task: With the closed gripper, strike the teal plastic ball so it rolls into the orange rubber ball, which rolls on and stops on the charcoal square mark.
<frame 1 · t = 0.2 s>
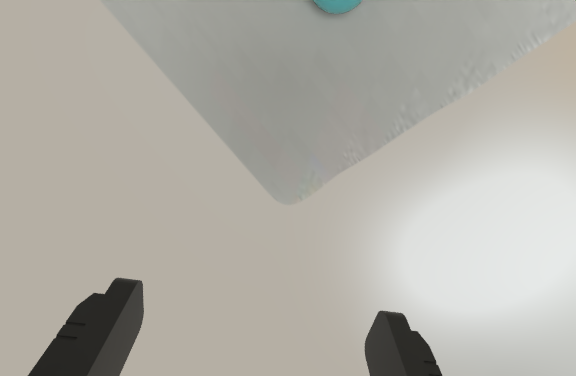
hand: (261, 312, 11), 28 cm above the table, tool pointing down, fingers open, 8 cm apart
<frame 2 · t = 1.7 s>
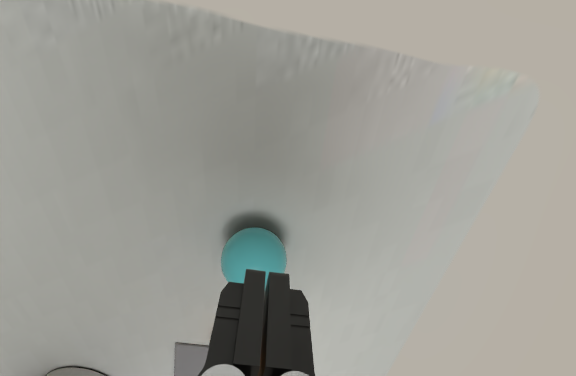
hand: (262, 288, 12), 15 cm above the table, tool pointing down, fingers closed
teal cue ball: (254, 260, 27), on the table
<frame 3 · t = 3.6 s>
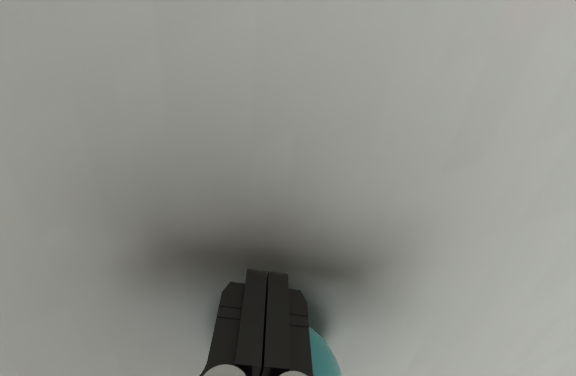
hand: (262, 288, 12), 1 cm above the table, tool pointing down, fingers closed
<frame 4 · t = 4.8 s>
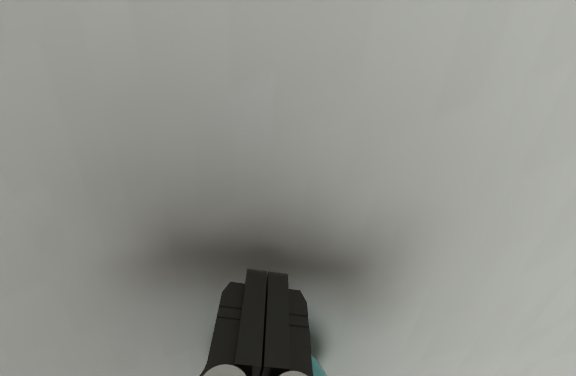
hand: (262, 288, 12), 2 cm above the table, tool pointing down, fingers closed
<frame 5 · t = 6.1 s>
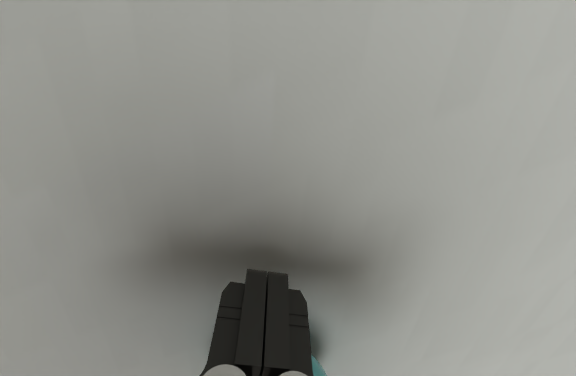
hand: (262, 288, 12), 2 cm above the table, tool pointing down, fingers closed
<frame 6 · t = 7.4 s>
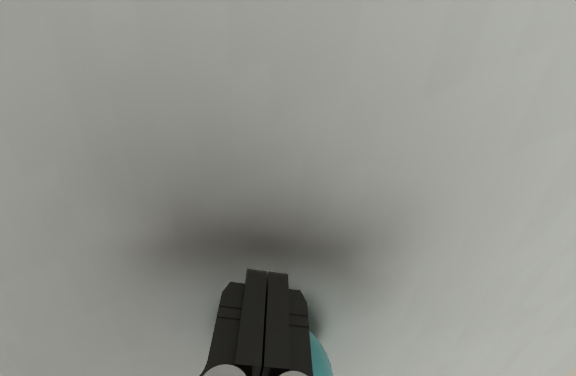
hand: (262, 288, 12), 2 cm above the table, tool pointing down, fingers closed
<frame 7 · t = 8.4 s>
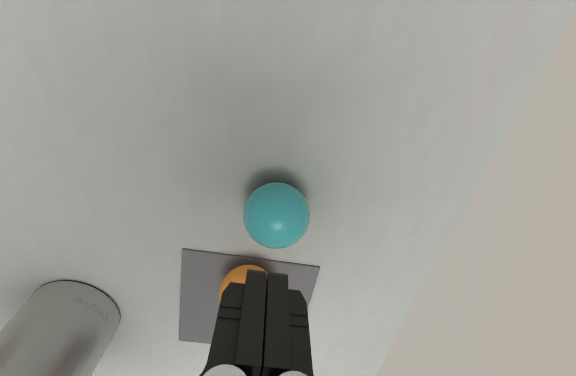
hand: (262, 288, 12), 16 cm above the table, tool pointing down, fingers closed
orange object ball: (247, 293, 31), on the table
charcoal mark: (244, 305, 36), on the table
teal cue ball: (276, 215, 27), on the table
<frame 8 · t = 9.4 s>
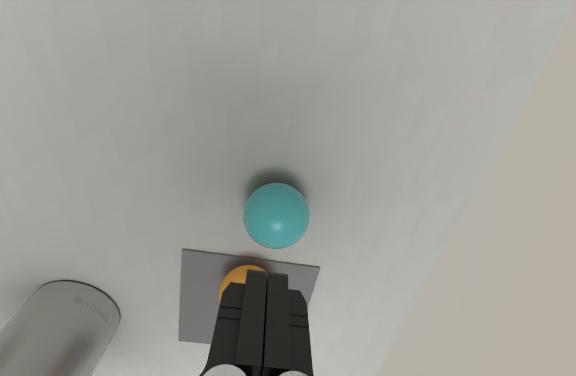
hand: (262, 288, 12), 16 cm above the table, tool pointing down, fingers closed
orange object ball: (247, 293, 31), on the table
charcoal mark: (244, 305, 36), on the table
teal cue ball: (276, 215, 27), on the table
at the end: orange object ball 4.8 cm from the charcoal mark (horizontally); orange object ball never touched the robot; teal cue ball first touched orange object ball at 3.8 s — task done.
